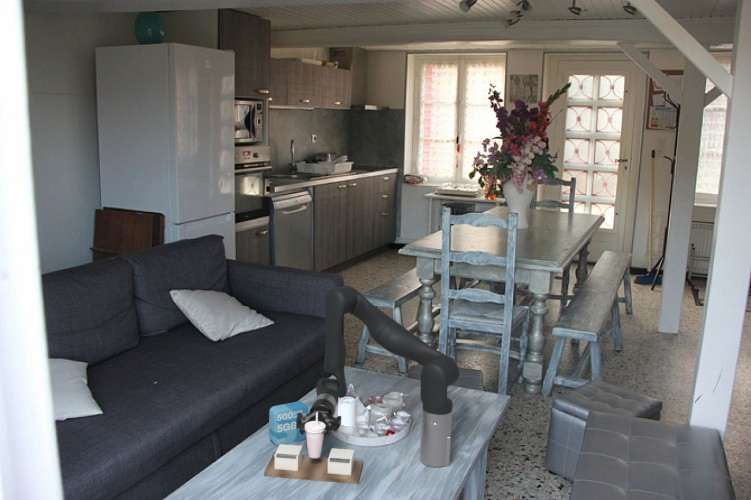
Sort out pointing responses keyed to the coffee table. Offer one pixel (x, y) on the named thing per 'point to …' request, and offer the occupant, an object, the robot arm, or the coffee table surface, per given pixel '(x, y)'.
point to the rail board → (314, 465)
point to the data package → (286, 423)
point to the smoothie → (314, 437)
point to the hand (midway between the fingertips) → (313, 432)
